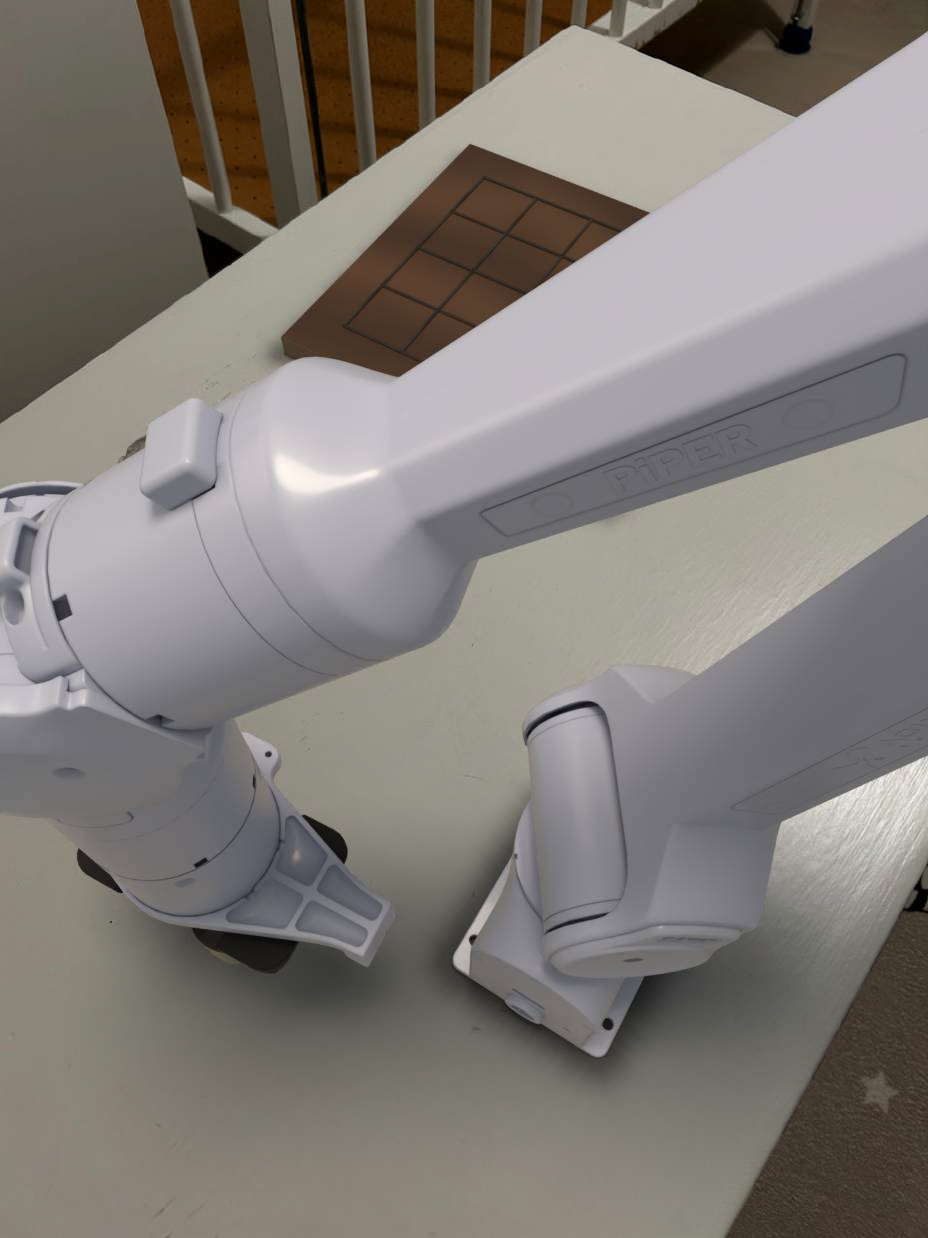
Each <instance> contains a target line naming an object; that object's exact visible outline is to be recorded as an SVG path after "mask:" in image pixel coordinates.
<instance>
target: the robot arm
mask: <svg viewBox="0 0 928 1238" xmlns="http://www.w3.org/2000/svg"><path fill="white" fill-rule="evenodd" d="M927 418H928V30H927V31H926V32H925V33H923V34H922V35H920V36H919V37H917V38H916V39H915V40H913V41H911V42H910V43H908V44H907V45H906V46H903V47H902V48H901V49H900V50H898V51H896V52H895V53H893V54H892V55H890V56H888V57H887V58H885V59H884V60H883V61H881V62H879V63H878V64H876V65H875V66H873V67H872V68H870V69H869V70H867V71H866V72H864V73H862V74H861V75H860V76H858V77H856V78H855V79H853V80H852V81H850V82H849V83H848V84H846V85H844V86H843V87H841V88H840V89H838V90H837V91H834V93H832V94H830V95H829V96H827V97H826V98H825V99H823V100H821V101H820V102H818V103H817V104H815V105H814V106H812V107H810V108H809V109H808V110H805V112H802V113H801V114H800V115H798V116H796V117H795V118H794V119H792V120H791V121H789V122H788V123H786V124H784V125H783V126H782V127H780V128H778V129H777V130H775V131H774V132H772V133H770V134H769V135H768V136H766V137H764V138H763V139H761V140H760V141H758V142H757V143H755V144H754V145H752V146H751V147H749V148H748V149H746V150H745V151H743V152H741V153H740V154H738V155H736V157H734V158H732V159H731V160H729V161H727V162H725V164H723V165H721V166H720V167H718V168H717V169H716V170H714V171H712V172H710V174H708V175H706V176H705V177H703V178H701V179H700V180H699V181H697V182H696V183H694V184H692V185H691V186H689V187H687V189H685V190H684V191H681V192H680V193H679V194H677V195H675V196H674V197H673V198H671V199H670V200H668V201H667V202H665V203H663V204H661V205H660V206H659V207H657V208H656V209H655V210H653V211H651V212H650V214H648V215H647V216H645V217H644V218H642V219H640V220H639V221H637V222H636V223H634V224H633V225H631V226H630V227H628V228H627V229H625V230H624V231H622V232H621V233H619V234H617V235H616V236H614V237H613V238H611V239H610V240H608V241H607V242H605V243H604V244H602V245H601V246H599V247H598V248H596V249H595V250H593V251H592V252H590V253H589V254H587V255H585V256H584V257H582V258H581V259H579V260H578V261H576V262H575V263H573V264H572V265H570V266H569V267H567V268H566V269H564V270H563V271H561V272H560V273H558V274H556V275H555V276H553V277H552V278H550V279H549V280H547V281H546V282H544V283H543V284H541V285H540V286H538V287H537V288H535V289H534V290H532V291H530V292H529V293H527V294H526V295H524V296H523V297H521V298H520V299H518V300H517V301H515V302H514V303H512V304H511V305H509V306H507V307H506V308H504V309H503V310H501V311H500V312H498V313H497V314H495V315H494V316H492V317H491V318H489V319H488V320H486V321H484V322H483V323H481V324H480V325H478V326H477V327H475V328H474V329H472V330H471V331H469V332H468V333H466V334H465V335H463V336H461V337H460V338H458V339H457V340H455V341H454V342H452V343H451V344H449V345H448V346H446V347H445V348H443V349H442V350H440V351H438V352H437V353H435V354H434V355H432V356H431V357H429V358H428V359H426V360H425V361H423V362H422V363H420V364H419V365H417V366H415V367H414V368H412V369H411V370H409V371H408V372H406V373H405V374H403V375H402V376H400V377H394V376H391V375H388V374H384V373H381V372H377V371H374V370H370V369H367V368H364V367H361V366H358V365H355V364H351V363H348V362H344V361H340V360H336V359H330V358H323V357H305V358H300V359H294V360H291V361H289V362H286V363H285V364H283V365H282V366H280V367H278V368H277V369H275V370H273V371H271V372H269V373H268V374H267V375H264V376H263V377H261V378H260V379H258V380H257V381H255V382H253V383H252V384H250V385H248V386H246V387H245V388H243V389H241V390H240V391H238V392H236V393H234V394H233V395H231V396H229V397H228V398H226V399H224V400H223V401H221V402H219V403H218V404H216V405H215V406H211V405H210V404H209V403H207V402H205V400H203V399H201V398H199V397H190V398H188V399H186V400H185V401H183V402H181V403H180V404H178V405H177V406H175V407H173V408H172V409H170V410H168V411H167V412H165V413H164V414H162V415H160V416H158V417H157V418H155V419H154V420H152V421H151V422H150V423H149V424H148V426H147V428H146V434H145V435H146V442H145V448H144V449H142V450H140V451H139V452H137V453H135V454H134V455H132V456H130V457H129V458H127V459H125V460H124V461H122V462H120V463H119V464H118V463H117V464H115V465H113V466H112V467H110V468H109V469H107V470H105V471H103V472H102V473H100V474H99V475H97V476H95V477H94V478H92V479H90V480H89V481H86V482H85V483H83V482H76V481H66V480H52V479H51V480H45V481H38V480H31V481H24V482H23V481H22V482H18V483H13V484H10V485H6V486H3V487H1V488H0V815H1V816H10V817H17V818H29V819H43V820H44V821H46V822H47V823H48V824H49V825H51V826H52V827H53V828H55V830H56V831H58V832H59V833H60V834H62V835H63V836H64V837H65V838H66V839H68V841H70V842H71V843H72V844H73V845H75V847H77V850H76V851H77V852H76V862H77V865H78V867H79V869H80V870H81V872H82V873H83V874H85V875H86V876H88V877H89V878H91V879H93V880H94V881H97V882H98V883H100V884H102V885H104V886H105V887H106V888H108V889H110V890H112V891H114V892H116V893H117V894H124V895H125V896H126V897H127V898H128V899H129V900H130V901H131V903H133V905H134V906H136V907H137V908H138V909H140V910H141V911H142V912H144V913H145V914H146V915H148V916H150V917H151V918H152V919H153V918H154V919H155V920H158V921H160V922H163V923H166V924H169V925H175V926H180V927H185V928H186V927H187V928H190V927H194V928H202V929H209V930H217V931H225V932H224V934H223V935H222V937H221V938H220V940H219V942H218V943H217V945H216V948H217V949H218V950H220V951H221V952H223V953H225V954H227V955H229V956H230V957H232V958H234V959H236V960H237V961H239V962H241V963H243V964H244V966H247V967H248V968H249V969H252V970H253V971H255V972H258V973H262V974H269V975H270V974H272V975H273V974H277V973H279V972H280V971H281V970H282V969H283V968H284V967H285V965H286V964H287V963H288V962H289V961H290V959H291V957H292V956H293V954H294V953H295V951H296V949H297V947H298V945H299V944H300V942H304V943H310V944H316V945H320V946H321V945H322V946H327V947H331V948H334V949H336V950H339V951H342V953H344V955H345V956H346V957H347V958H349V959H350V960H352V961H354V962H356V963H357V964H359V965H361V966H363V967H364V968H368V967H370V965H371V963H372V962H373V959H374V958H375V956H376V954H377V952H378V950H379V948H380V947H381V945H382V944H383V941H384V940H385V937H386V936H387V934H388V932H389V930H390V928H391V926H392V924H393V922H394V921H395V919H396V915H395V911H394V906H393V904H392V902H391V901H390V900H388V899H386V898H384V897H383V896H381V895H379V894H378V893H377V892H375V891H374V890H372V889H370V888H369V887H368V886H367V885H365V884H364V883H363V882H362V881H360V880H359V879H358V877H357V876H355V875H354V874H353V872H352V871H351V870H350V869H349V868H348V867H347V866H346V865H345V864H346V862H347V859H348V855H349V849H348V845H347V843H346V841H345V838H344V837H343V836H342V834H341V833H340V832H338V831H337V830H335V829H334V828H332V827H330V826H328V825H326V824H325V823H323V822H321V821H318V820H317V819H315V818H314V817H311V816H309V815H307V814H301V813H300V812H299V811H298V810H297V809H296V807H295V806H294V805H293V804H292V803H291V801H289V799H288V798H287V797H286V796H285V794H283V793H282V791H281V790H280V789H279V788H278V787H277V785H275V777H276V775H277V773H278V772H279V770H280V769H281V766H282V763H283V759H282V755H281V753H280V750H279V749H278V748H277V747H276V746H275V745H274V744H272V743H271V742H269V741H266V740H264V739H262V738H260V737H258V736H256V735H254V734H253V733H250V732H248V731H244V730H241V729H240V728H239V726H238V725H239V724H238V723H237V721H236V719H235V718H238V717H241V716H243V715H246V714H248V713H252V712H254V711H257V710H259V709H262V708H265V707H267V706H270V705H273V704H276V703H278V702H281V701H284V700H286V699H288V698H291V697H295V696H297V695H299V694H302V693H305V692H307V691H310V690H313V689H315V688H318V687H320V686H324V685H326V684H329V683H331V682H334V681H336V680H340V679H342V678H345V677H347V676H350V675H352V674H354V673H357V672H361V671H363V670H366V669H368V668H371V667H373V666H377V665H378V664H381V663H384V662H387V661H390V660H393V659H395V658H397V657H400V656H402V655H405V654H408V653H411V652H414V651H417V650H419V649H422V648H425V647H426V646H428V645H431V644H433V643H434V642H435V641H437V640H438V639H439V638H441V636H443V635H444V633H445V632H446V631H447V630H448V629H449V628H450V627H451V625H452V623H453V622H454V620H455V619H456V617H457V615H458V613H459V611H460V608H461V606H462V604H463V601H464V598H465V595H466V592H467V590H468V588H469V584H470V583H471V580H472V577H473V575H474V572H475V570H476V568H477V565H478V562H479V560H480V559H483V558H486V557H490V556H493V555H496V554H499V553H502V552H505V551H509V550H511V549H515V548H518V547H521V546H524V545H528V544H531V543H534V542H538V541H540V540H544V539H546V538H550V537H553V536H556V535H559V534H562V533H565V532H568V531H572V530H575V529H578V528H582V527H585V526H588V525H591V524H594V523H598V522H601V521H604V520H607V519H610V518H614V517H616V516H619V515H624V514H627V513H630V512H633V511H636V510H639V509H641V508H645V507H648V506H651V505H654V504H658V503H661V502H664V501H667V500H671V499H673V498H677V497H680V496H683V495H687V494H690V493H693V492H696V491H699V490H702V489H705V488H709V487H712V486H715V485H718V484H722V483H725V482H728V481H732V480H735V479H737V478H740V477H743V476H746V475H751V474H753V473H756V472H759V471H763V470H766V469H769V468H771V467H775V466H779V465H781V464H786V463H788V462H791V461H795V460H798V459H801V458H804V457H807V456H810V455H813V454H816V453H819V452H823V451H826V450H829V449H833V448H835V447H839V446H841V445H845V444H848V443H851V442H855V441H858V440H861V439H864V438H867V437H870V436H873V435H874V436H875V435H877V434H880V433H882V432H883V433H884V432H886V431H889V430H893V429H896V428H899V427H902V426H905V425H908V424H912V423H915V422H917V421H918V422H919V421H921V420H924V419H927ZM521 733H522V738H523V742H524V746H526V747H527V755H528V768H529V780H530V790H531V791H530V792H531V797H530V799H529V801H528V802H527V804H526V805H525V807H524V809H523V811H522V814H521V816H520V819H519V822H518V824H517V828H516V833H515V837H514V844H513V848H512V849H513V850H512V855H511V857H510V859H509V860H508V862H507V863H506V865H505V867H504V868H503V870H502V872H501V874H500V875H499V877H498V879H496V882H495V883H494V885H493V887H492V889H491V891H490V892H489V894H488V895H487V897H486V899H485V901H484V902H483V904H482V906H481V908H480V909H479V911H478V912H477V914H476V916H475V917H474V919H473V921H472V922H471V924H470V926H469V928H467V931H466V932H465V934H464V935H463V938H462V939H461V941H460V943H459V945H458V946H457V948H456V950H455V951H454V953H453V956H452V965H453V967H454V968H455V969H456V971H458V972H460V973H461V974H463V975H464V976H466V977H467V978H468V979H470V980H472V981H473V982H475V983H477V984H478V985H480V986H482V987H483V988H485V989H486V990H487V991H489V992H491V993H492V994H494V995H496V996H497V997H499V998H500V999H502V1000H503V1001H504V1003H505V1005H507V1007H509V1008H510V1009H511V1010H512V1011H513V1012H515V1013H516V1014H518V1015H519V1016H521V1017H523V1018H524V1019H526V1020H528V1021H530V1022H531V1023H534V1024H537V1025H543V1026H544V1027H545V1028H547V1029H549V1030H550V1031H552V1032H554V1033H555V1034H557V1035H558V1036H560V1037H561V1038H563V1040H566V1041H568V1042H569V1043H571V1044H572V1045H574V1046H575V1047H576V1048H578V1049H580V1050H581V1051H583V1052H585V1053H586V1054H588V1055H589V1056H591V1057H593V1058H598V1059H599V1058H602V1057H603V1056H604V1057H605V1055H606V1054H607V1053H608V1051H609V1049H610V1047H611V1045H612V1043H613V1041H614V1038H615V1037H616V1035H617V1033H618V1032H619V1029H620V1027H621V1025H622V1023H623V1021H624V1019H625V1017H626V1015H627V1013H628V1010H629V1008H630V1007H631V1004H632V1002H633V1000H634V998H635V996H636V995H637V992H638V991H639V988H640V985H641V984H642V982H643V980H644V979H645V977H648V976H656V975H662V974H670V973H674V972H679V971H684V970H687V969H691V968H694V967H698V966H700V965H702V964H704V963H706V962H707V961H709V960H710V958H711V957H712V956H713V954H714V953H715V952H716V951H718V950H719V949H720V948H723V947H724V946H727V945H729V944H732V943H734V942H736V941H737V940H739V939H740V937H741V936H742V935H743V934H746V933H748V932H751V931H754V930H756V929H758V927H759V924H760V922H761V919H762V914H763V911H764V906H765V901H766V896H767V891H768V886H769V880H770V875H771V871H772V866H773V860H774V855H775V851H776V845H777V841H778V835H779V831H780V828H781V825H782V823H783V822H785V821H787V820H789V819H792V818H793V817H796V816H798V815H800V814H804V812H807V811H810V810H812V809H814V808H816V807H818V806H820V805H822V804H824V803H827V802H828V801H831V800H833V799H835V798H838V797H840V796H843V795H844V794H846V793H849V792H851V791H853V790H855V789H857V788H860V787H862V786H864V785H866V784H868V783H871V782H873V781H875V780H877V779H879V778H882V777H883V776H886V775H888V774H890V773H893V772H895V771H898V770H899V769H902V768H903V767H905V766H908V765H910V764H912V763H915V762H917V761H919V760H921V759H924V758H926V757H928V514H926V515H925V516H923V517H922V518H921V519H919V520H918V521H917V522H915V523H914V524H912V525H911V526H909V527H908V528H906V529H905V530H904V531H902V532H900V533H899V534H898V535H896V536H895V537H894V538H892V539H891V540H889V541H888V542H886V543H885V544H883V545H882V546H881V547H879V548H878V549H876V550H875V551H874V552H872V553H870V554H869V555H868V556H866V557H865V558H864V559H862V560H861V561H859V562H858V563H856V564H855V565H853V566H852V567H851V568H849V569H848V570H846V571H845V572H843V573H842V574H841V575H839V576H837V577H836V578H834V579H833V580H832V581H831V582H829V583H827V584H826V585H825V586H823V587H822V588H820V589H819V590H818V591H816V592H815V593H813V594H812V595H810V596H809V597H808V598H806V599H804V600H803V601H802V602H801V603H799V604H797V605H796V606H795V607H793V608H791V609H790V610H789V611H787V612H786V613H784V614H783V615H782V616H781V617H780V616H779V618H778V619H776V620H775V621H773V622H772V623H771V624H769V625H767V626H766V627H765V628H763V629H762V630H760V631H759V632H757V633H756V634H755V635H753V636H752V637H750V638H749V639H747V640H746V641H745V642H743V643H742V644H740V645H739V646H737V647H736V648H735V649H733V650H731V651H730V652H729V653H727V654H726V655H724V656H722V658H720V659H719V660H717V661H716V662H715V663H713V664H712V665H710V666H709V667H707V668H706V669H704V670H703V671H702V672H700V673H698V674H694V673H693V672H690V671H687V670H683V669H678V668H675V667H670V666H662V665H656V664H640V663H622V664H618V663H617V664H612V665H611V666H609V668H607V669H606V670H604V671H603V672H602V673H601V674H600V675H597V676H596V677H594V678H592V679H589V680H587V681H585V682H582V683H578V684H574V685H573V684H572V685H570V686H567V687H564V688H562V689H559V690H557V691H555V692H553V693H551V694H549V695H548V696H546V697H545V698H543V699H542V700H541V701H539V703H538V704H536V705H535V706H534V707H532V708H531V709H530V710H529V711H527V713H526V715H525V716H524V717H523V720H522V722H521ZM473 937H475V939H474V941H473V943H472V944H471V943H470V940H471V938H473ZM605 1020H609V1021H610V1022H611V1024H612V1025H611V1026H612V1028H611V1029H606V1028H604V1026H603V1023H604V1021H605Z"/></svg>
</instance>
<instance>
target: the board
mask: <svg viewBox="0 0 928 1238" xmlns="http://www.w3.org/2000/svg"><path fill="white" fill-rule="evenodd" d="M650 213H651V212H650V211H647V210H645V209H641V208H639V207H637V206H634V205H631V204H629V203H626V202H623V201H621V200H618V199H616V198H613V197H611V196H608V195H605V194H603V193H601V192H597V191H596V190H592V189H589V188H587V187H584V186H581V185H579V184H576V183H575V182H572V181H569V180H566V179H564V178H561V177H559V176H556V175H553V174H550V173H548V172H545V171H543V170H540V169H537V168H535V167H532V166H529V165H527V164H525V163H522V162H519V161H517V160H514V159H511V158H509V157H507V156H504V155H501V154H499V153H496V152H493V151H491V150H488V149H485V148H482V147H481V146H478V145H474V144H473V143H469V144H468V145H467V146H466V147H465V148H463V150H462V151H461V152H460V153H459V154H458V155H457V156H456V157H455V158H454V159H453V160H452V161H451V162H450V163H449V164H448V165H447V166H446V167H445V168H444V170H442V171H441V172H440V173H439V175H438V176H436V177H435V179H433V181H432V182H431V183H430V184H429V185H428V186H426V188H425V189H424V190H423V191H421V193H420V194H419V195H418V196H417V197H416V198H415V199H414V200H413V201H412V202H411V203H410V204H409V205H408V206H407V207H406V208H405V209H404V210H403V211H402V212H401V213H400V214H399V216H398V217H397V218H395V219H394V221H392V222H391V224H389V225H388V226H387V228H386V229H385V230H383V232H381V234H380V235H379V236H378V237H377V238H376V239H375V240H374V241H373V242H372V243H371V244H370V245H369V246H368V247H367V248H366V249H365V250H364V251H363V252H362V253H361V254H360V256H358V258H356V259H355V261H353V263H351V265H350V266H348V268H346V270H345V271H344V272H343V273H342V274H341V275H339V277H338V278H337V279H336V280H335V281H334V282H333V283H332V284H331V285H330V286H329V287H328V288H327V289H326V290H325V291H324V292H323V293H322V294H321V296H319V297H318V298H317V300H315V301H314V302H313V303H312V304H311V305H310V306H309V307H308V308H307V310H306V311H305V312H304V313H303V314H302V315H301V316H300V317H299V318H298V319H297V320H296V321H295V322H294V323H293V324H292V325H291V326H290V327H289V328H288V329H287V330H286V331H285V332H284V333H283V334H282V335H281V336H280V340H281V341H280V342H281V346H282V350H283V354H284V355H286V356H289V357H291V358H293V359H294V360H297V359H300V358H305V357H323V358H330V359H336V360H340V361H344V362H348V363H351V364H355V365H358V366H361V367H364V368H367V369H370V370H374V371H377V372H381V373H384V374H388V375H391V376H394V377H400V376H402V375H403V374H405V373H406V372H408V371H409V370H411V369H412V368H414V367H415V366H417V365H419V364H420V363H422V362H423V361H425V360H426V359H428V358H429V357H431V356H432V355H434V354H435V353H437V352H438V351H440V350H442V349H443V348H445V347H446V346H448V345H449V344H451V343H452V342H454V341H455V340H457V339H458V338H460V337H461V336H463V335H465V334H466V333H468V332H469V331H471V330H472V329H474V328H475V327H477V326H478V325H480V324H481V323H483V322H484V321H486V320H488V319H489V318H491V317H492V316H494V315H495V314H497V313H498V312H500V311H501V310H503V309H504V308H506V307H507V306H509V305H511V304H512V303H514V302H515V301H517V300H518V299H520V298H521V297H523V296H524V295H526V294H527V293H529V292H530V291H532V290H534V289H535V288H537V287H538V286H540V285H541V284H543V283H544V282H546V281H547V280H549V279H550V278H552V277H553V276H555V275H556V274H558V273H560V272H561V271H563V270H564V269H566V268H567V267H569V266H570V265H572V264H573V263H575V262H576V261H578V260H579V259H581V258H582V257H584V256H585V255H587V254H589V253H590V252H592V251H593V250H595V249H596V248H598V247H599V246H601V245H602V244H604V243H605V242H607V241H608V240H610V239H611V238H613V237H614V236H616V235H617V234H619V233H621V232H622V231H624V230H625V229H627V228H628V227H630V226H631V225H633V224H634V223H636V222H637V221H639V220H640V219H642V218H644V217H645V216H647V215H648V214H650Z"/></svg>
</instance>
